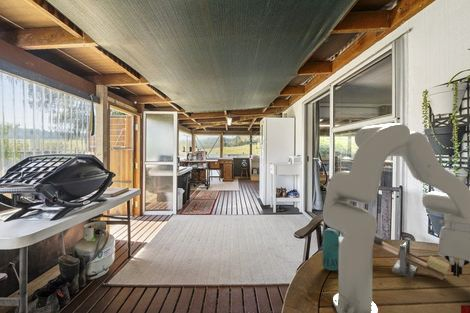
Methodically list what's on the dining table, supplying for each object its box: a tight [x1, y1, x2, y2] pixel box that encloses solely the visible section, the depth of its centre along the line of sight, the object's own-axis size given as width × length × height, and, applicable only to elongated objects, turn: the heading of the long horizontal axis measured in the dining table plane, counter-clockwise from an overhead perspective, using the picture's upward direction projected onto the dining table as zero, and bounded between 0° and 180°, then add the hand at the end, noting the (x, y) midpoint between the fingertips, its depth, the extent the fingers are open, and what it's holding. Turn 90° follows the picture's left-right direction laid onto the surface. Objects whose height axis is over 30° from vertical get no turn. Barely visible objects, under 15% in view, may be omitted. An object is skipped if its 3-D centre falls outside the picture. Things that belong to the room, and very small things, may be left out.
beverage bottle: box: [321, 223, 340, 271], centre depth 100 cm, size 6×7×20 cm
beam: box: [373, 232, 446, 281], centre depth 101 cm, size 7×28×5 cm, turn 46°
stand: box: [391, 237, 418, 279], centre depth 100 cm, size 13×7×11 cm, turn 136°
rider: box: [426, 255, 450, 277], centre depth 93 cm, size 5×6×4 cm
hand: (456, 275), depth 90 cm, fingers closed
